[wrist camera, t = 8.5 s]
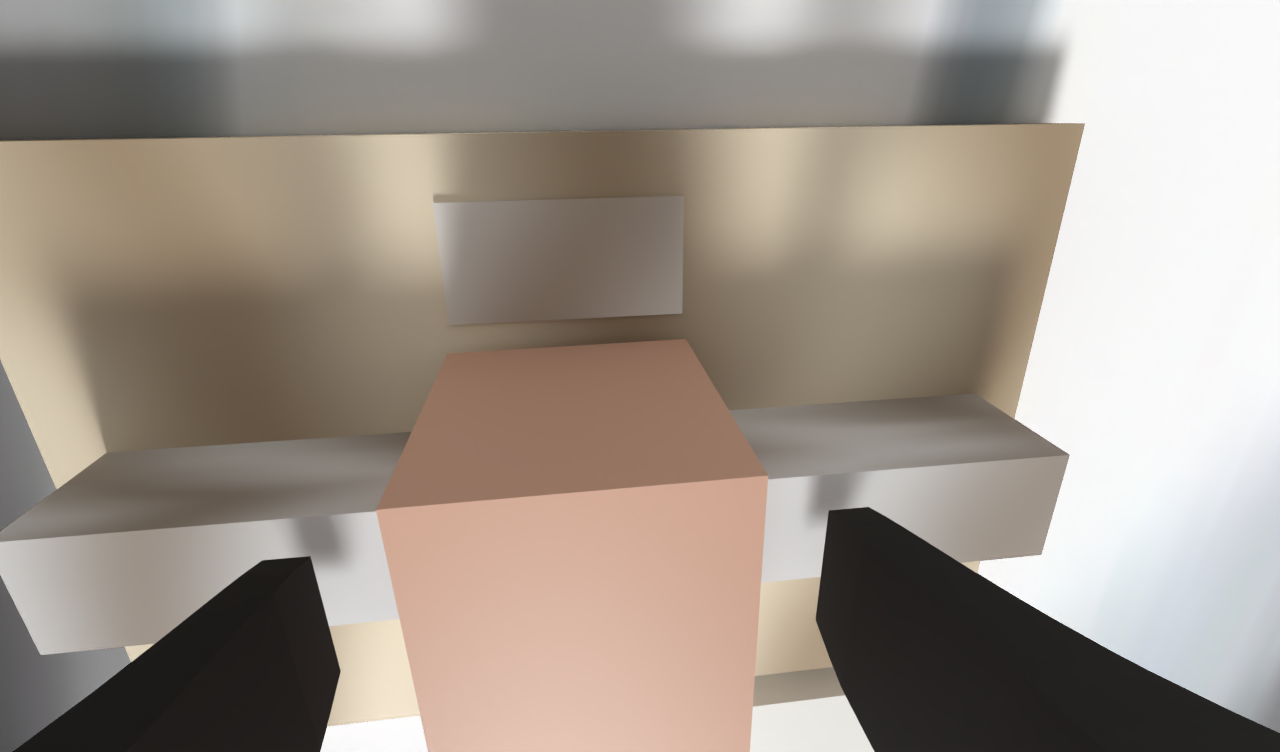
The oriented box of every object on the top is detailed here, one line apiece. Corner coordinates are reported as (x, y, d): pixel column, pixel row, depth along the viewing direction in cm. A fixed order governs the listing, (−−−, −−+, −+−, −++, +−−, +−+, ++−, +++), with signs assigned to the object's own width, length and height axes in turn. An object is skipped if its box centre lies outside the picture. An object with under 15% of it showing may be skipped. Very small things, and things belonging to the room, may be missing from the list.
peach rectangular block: (486, 617, 12) (452, 864, 8) (447, 353, 10) (375, 510, 6) (683, 596, 13) (745, 820, 9) (685, 339, 11) (768, 475, 7)
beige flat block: (192, 704, 14) (85, 876, 11) (-32, 141, 10) (-327, 150, 6) (935, 622, 16) (1029, 746, 13) (1043, 123, 12) (1230, 124, 8)
